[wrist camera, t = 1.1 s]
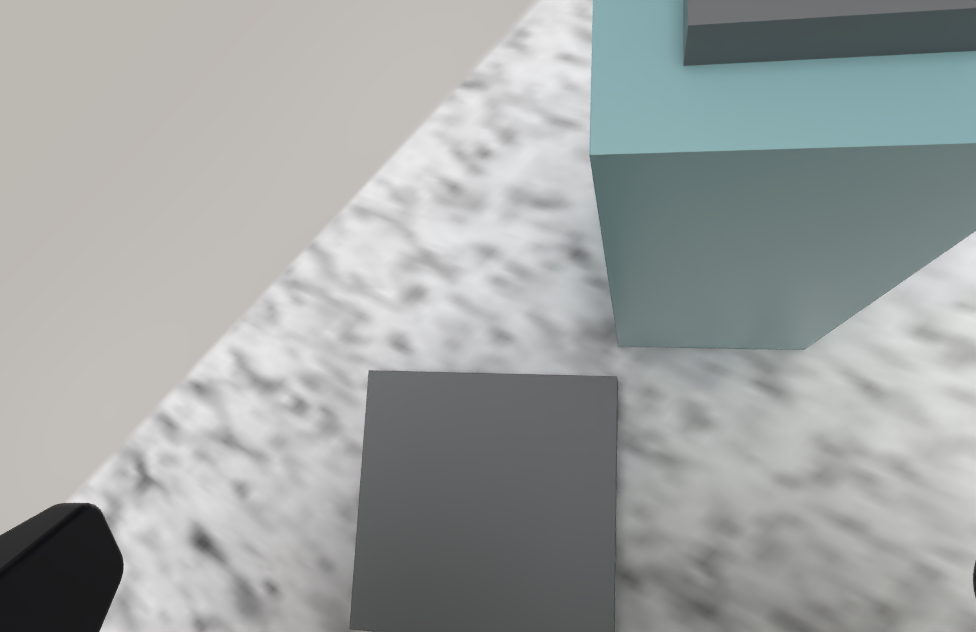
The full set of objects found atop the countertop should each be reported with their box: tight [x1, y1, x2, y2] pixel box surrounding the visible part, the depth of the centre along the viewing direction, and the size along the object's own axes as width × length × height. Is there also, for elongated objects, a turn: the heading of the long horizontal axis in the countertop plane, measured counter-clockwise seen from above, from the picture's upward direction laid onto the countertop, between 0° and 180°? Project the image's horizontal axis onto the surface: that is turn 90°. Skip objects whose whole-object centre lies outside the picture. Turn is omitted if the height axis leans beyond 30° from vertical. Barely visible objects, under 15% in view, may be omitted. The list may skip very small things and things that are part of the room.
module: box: [590, 0, 976, 350], centre depth 15 cm, size 5×5×15 cm
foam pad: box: [350, 370, 618, 632], centre depth 21 cm, size 7×7×1 cm
